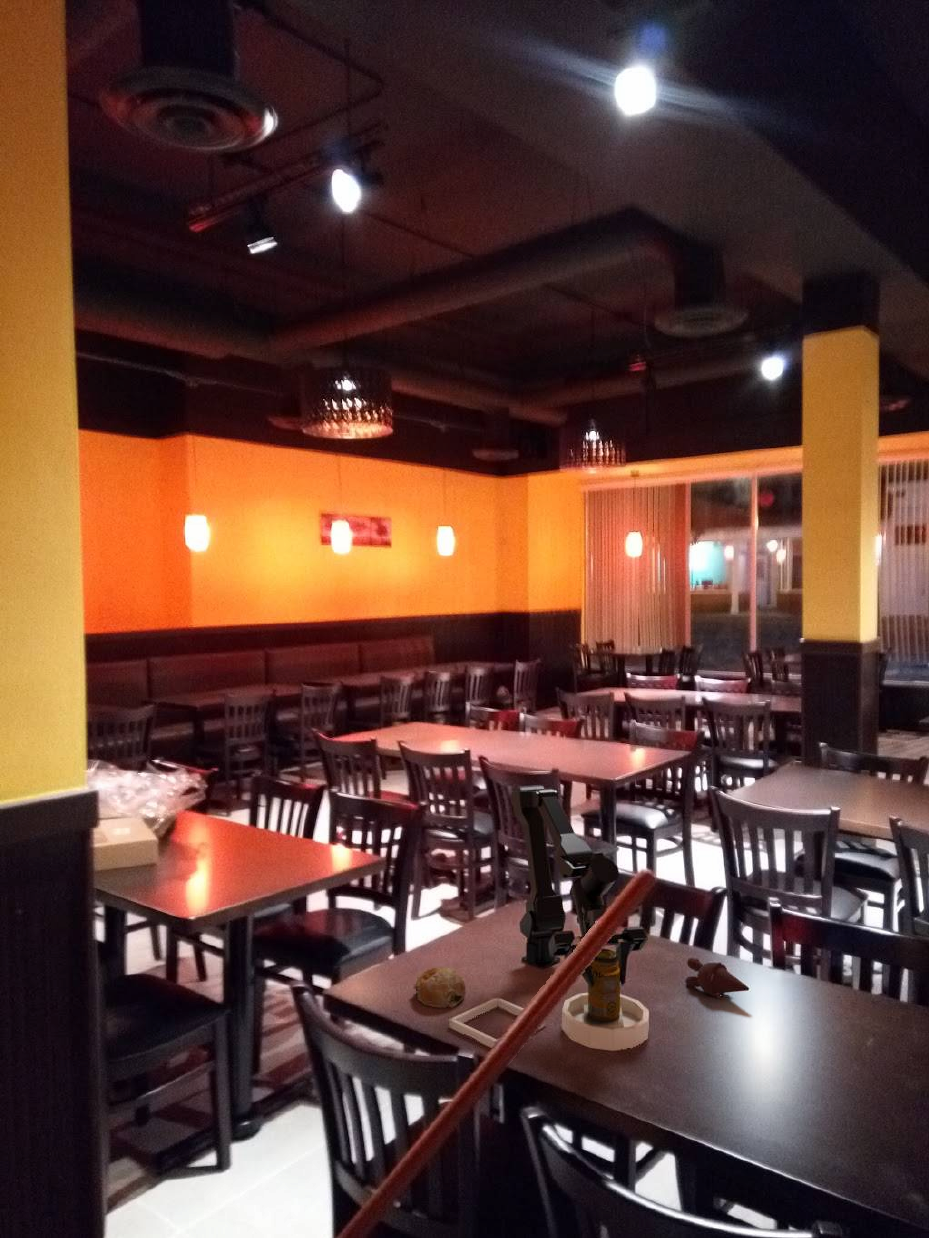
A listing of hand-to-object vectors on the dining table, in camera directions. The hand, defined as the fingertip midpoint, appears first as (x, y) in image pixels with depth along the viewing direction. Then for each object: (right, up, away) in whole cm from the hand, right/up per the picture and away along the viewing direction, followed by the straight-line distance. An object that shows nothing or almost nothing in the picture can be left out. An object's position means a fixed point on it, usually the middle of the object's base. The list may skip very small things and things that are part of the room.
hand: (607, 985), depth 168 cm
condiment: (-1, -7, +1) cm, 7 cm away
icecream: (+25, -9, +16) cm, 31 cm away
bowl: (0, -9, +1) cm, 9 cm away
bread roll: (-32, -9, +14) cm, 36 cm away
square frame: (-21, -9, +2) cm, 23 cm away
